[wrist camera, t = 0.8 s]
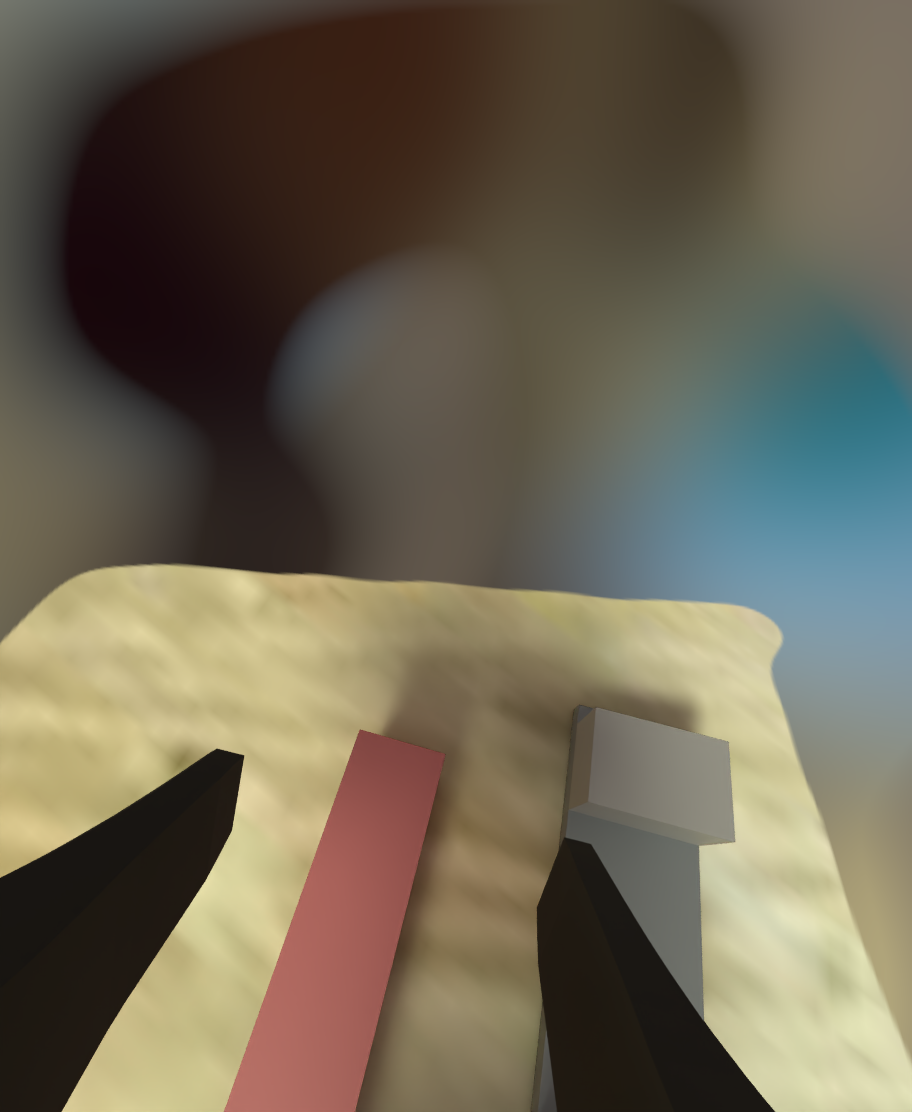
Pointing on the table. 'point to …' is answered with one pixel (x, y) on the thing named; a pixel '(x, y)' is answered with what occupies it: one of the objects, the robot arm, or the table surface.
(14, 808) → the table surface
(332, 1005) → the frame bar
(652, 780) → the display rack
